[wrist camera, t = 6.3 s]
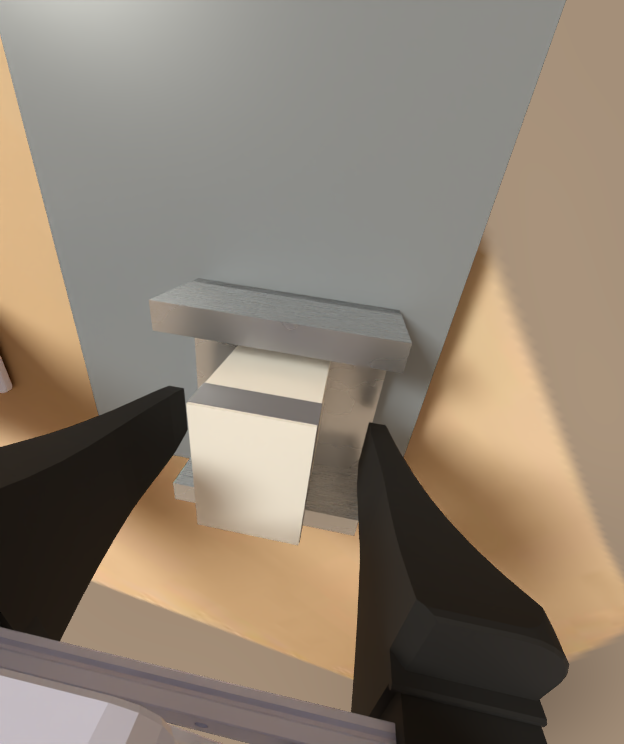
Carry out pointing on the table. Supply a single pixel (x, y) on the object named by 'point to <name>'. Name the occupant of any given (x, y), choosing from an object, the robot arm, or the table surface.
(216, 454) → the block
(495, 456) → the table surface
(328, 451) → the end holder
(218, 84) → the board
